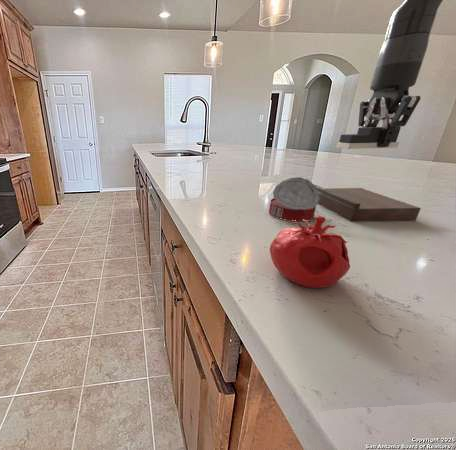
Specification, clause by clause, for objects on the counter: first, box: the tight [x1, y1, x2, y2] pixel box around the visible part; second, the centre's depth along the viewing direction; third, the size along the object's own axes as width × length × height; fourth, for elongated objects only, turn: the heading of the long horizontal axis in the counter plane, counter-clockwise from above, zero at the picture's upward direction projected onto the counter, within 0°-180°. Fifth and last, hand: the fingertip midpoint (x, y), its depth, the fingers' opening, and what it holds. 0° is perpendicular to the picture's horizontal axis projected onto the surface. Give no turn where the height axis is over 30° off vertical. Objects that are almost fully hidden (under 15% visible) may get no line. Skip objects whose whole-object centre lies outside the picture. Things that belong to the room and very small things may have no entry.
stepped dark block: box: [335, 126, 402, 150], centre depth 59 cm, size 11×5×4 cm, turn 87°
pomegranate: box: [269, 215, 351, 289], centre depth 35 cm, size 10×10×9 cm
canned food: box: [268, 176, 319, 222], centre depth 59 cm, size 11×10×10 cm
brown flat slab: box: [314, 184, 422, 222], centre depth 62 cm, size 14×18×4 cm
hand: (373, 145), depth 59 cm, fingers closed on stepped dark block, 4 cm apart
